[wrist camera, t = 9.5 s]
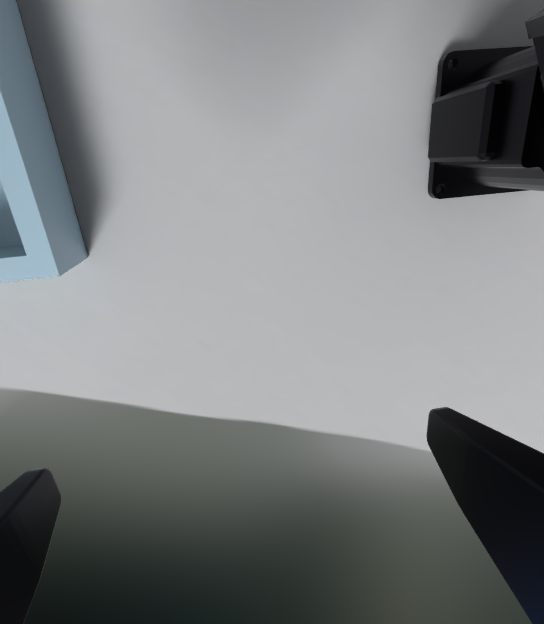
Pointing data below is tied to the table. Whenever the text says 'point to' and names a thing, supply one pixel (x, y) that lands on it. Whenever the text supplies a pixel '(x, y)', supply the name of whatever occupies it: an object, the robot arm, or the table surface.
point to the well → (30, 170)
